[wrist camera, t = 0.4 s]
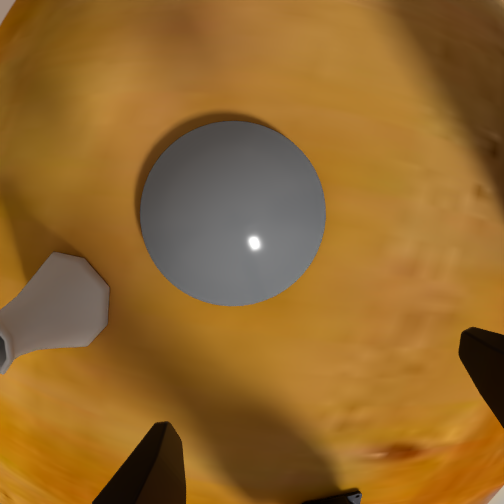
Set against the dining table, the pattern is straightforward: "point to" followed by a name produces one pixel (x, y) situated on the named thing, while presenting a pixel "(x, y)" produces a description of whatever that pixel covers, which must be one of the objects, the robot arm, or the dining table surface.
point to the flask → (54, 309)
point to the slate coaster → (232, 213)
